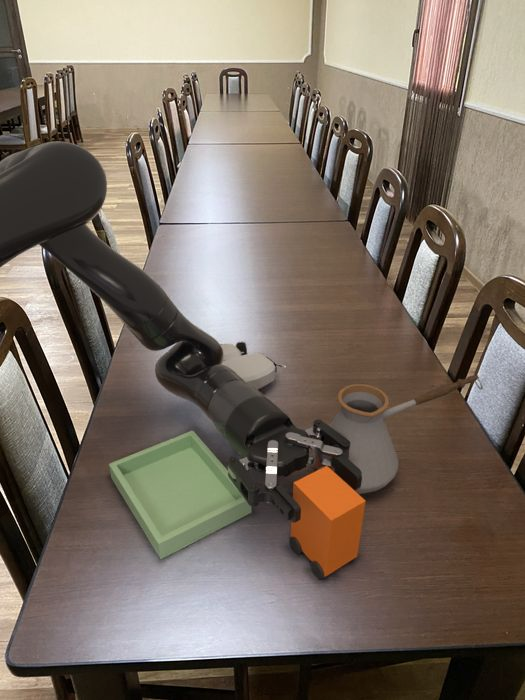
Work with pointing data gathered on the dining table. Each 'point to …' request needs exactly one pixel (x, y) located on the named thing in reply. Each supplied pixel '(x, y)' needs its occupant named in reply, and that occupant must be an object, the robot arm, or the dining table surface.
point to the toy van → (327, 521)
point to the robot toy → (249, 365)
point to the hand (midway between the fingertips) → (330, 499)
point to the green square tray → (178, 492)
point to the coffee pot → (376, 429)
